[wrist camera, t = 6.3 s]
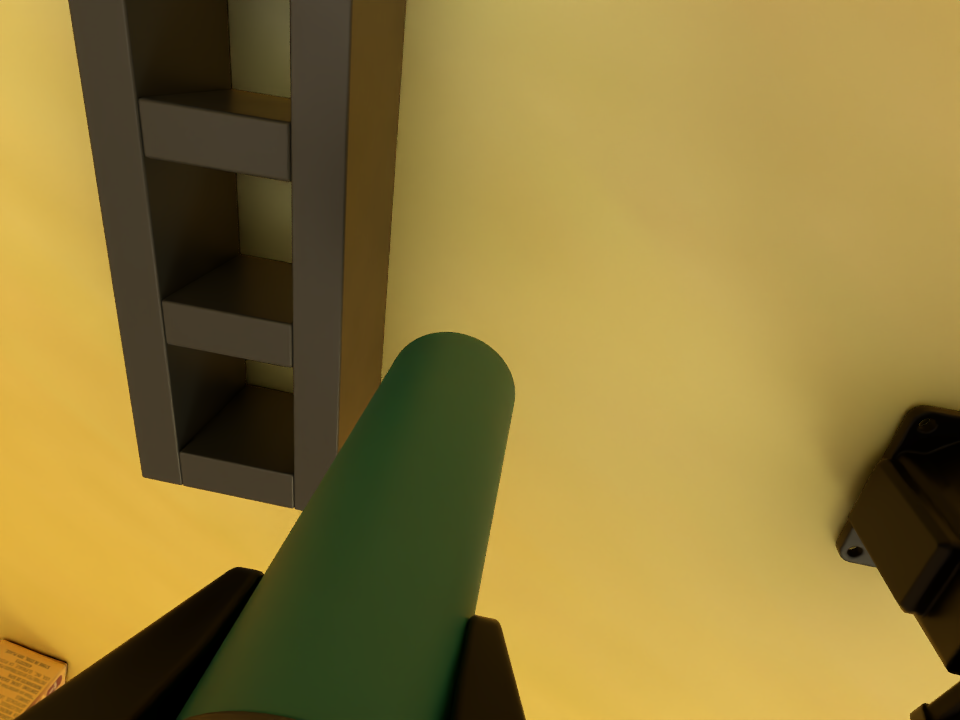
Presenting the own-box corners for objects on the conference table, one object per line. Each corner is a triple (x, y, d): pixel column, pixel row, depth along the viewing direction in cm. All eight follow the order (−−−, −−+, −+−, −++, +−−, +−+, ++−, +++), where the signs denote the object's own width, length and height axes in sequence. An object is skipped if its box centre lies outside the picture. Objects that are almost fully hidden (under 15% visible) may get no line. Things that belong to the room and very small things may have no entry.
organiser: (413, -100, 16) (357, -155, 12) (377, 440, 23) (335, 518, 19) (170, -134, 16) (36, -197, 12) (214, 407, 24) (141, 477, 20)
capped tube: (529, 339, 13) (418, 975, 4) (509, 456, 15) (394, 1118, 6) (389, 316, 14) (-13, 865, 4) (383, 433, 15) (71, 1031, 6)
